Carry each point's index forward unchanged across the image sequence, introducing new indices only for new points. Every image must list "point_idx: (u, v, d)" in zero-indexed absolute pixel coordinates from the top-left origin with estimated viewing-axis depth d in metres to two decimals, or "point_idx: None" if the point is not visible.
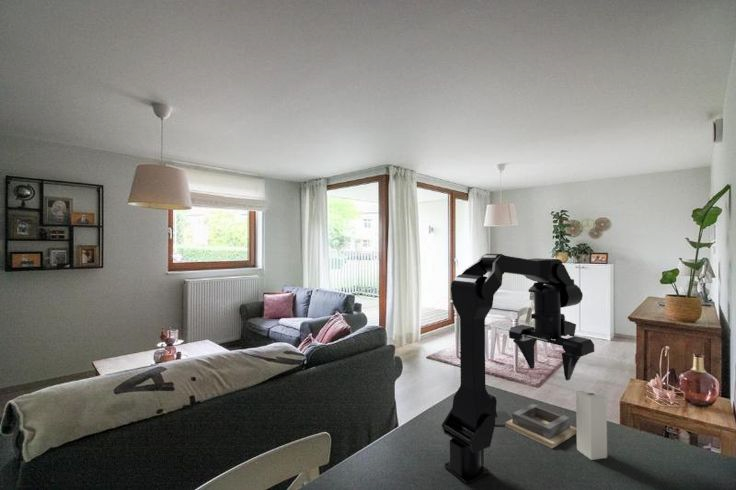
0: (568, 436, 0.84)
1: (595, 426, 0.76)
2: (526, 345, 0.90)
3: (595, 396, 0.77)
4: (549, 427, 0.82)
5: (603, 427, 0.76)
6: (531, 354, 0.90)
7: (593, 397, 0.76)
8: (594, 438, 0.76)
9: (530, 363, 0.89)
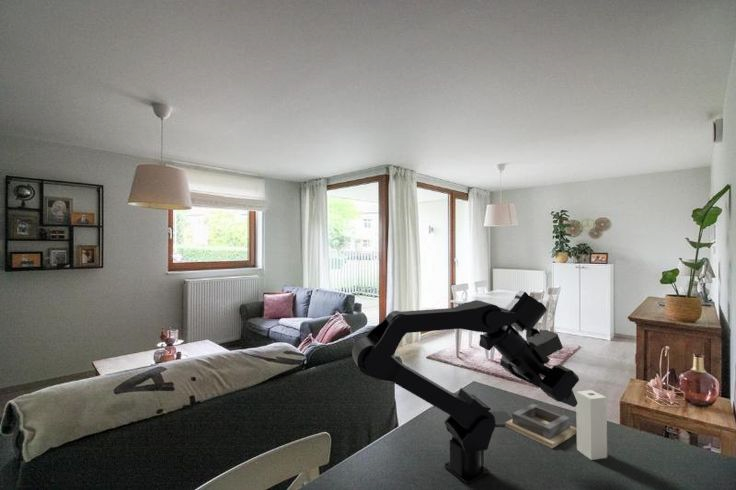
0: (568, 436, 0.84)
1: (595, 426, 0.76)
2: None
3: (595, 396, 0.77)
4: (549, 427, 0.82)
5: (603, 427, 0.76)
6: (535, 377, 0.81)
7: (592, 397, 0.76)
8: (594, 438, 0.76)
9: (539, 386, 0.80)
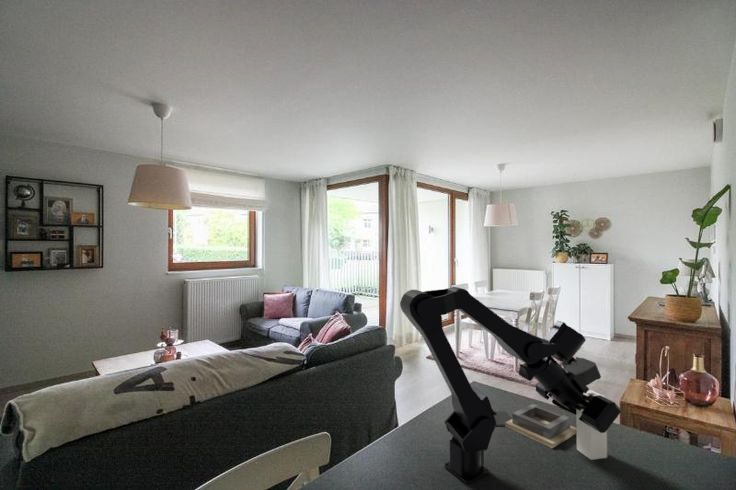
0: (568, 436, 0.84)
1: None
2: None
3: None
4: (549, 427, 0.82)
5: None
6: None
7: None
8: (594, 438, 0.76)
9: None
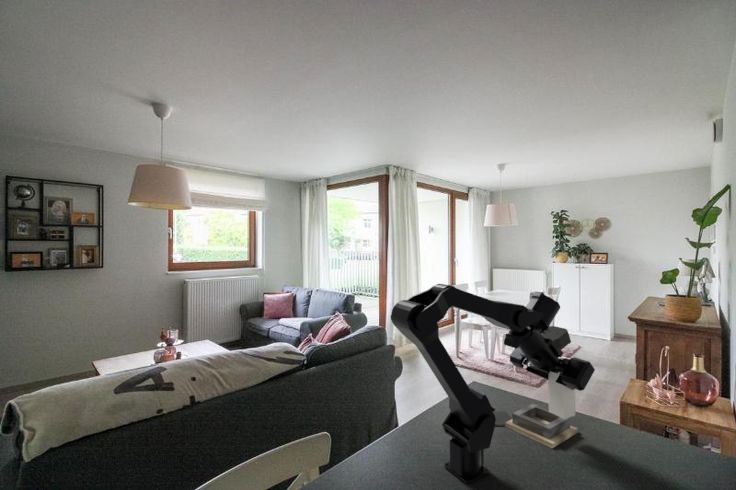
0: (568, 436, 0.84)
1: None
2: (540, 370, 0.85)
3: None
4: (549, 427, 0.82)
5: None
6: None
7: None
8: (566, 398, 0.82)
9: None
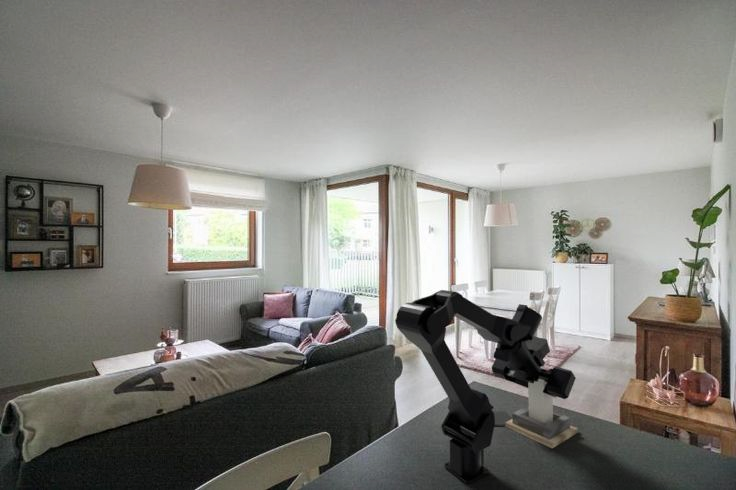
0: (568, 436, 0.84)
1: (546, 400, 0.86)
2: (518, 379, 0.89)
3: None
4: (549, 427, 0.82)
5: (550, 400, 0.87)
6: None
7: None
8: (546, 411, 0.86)
9: None
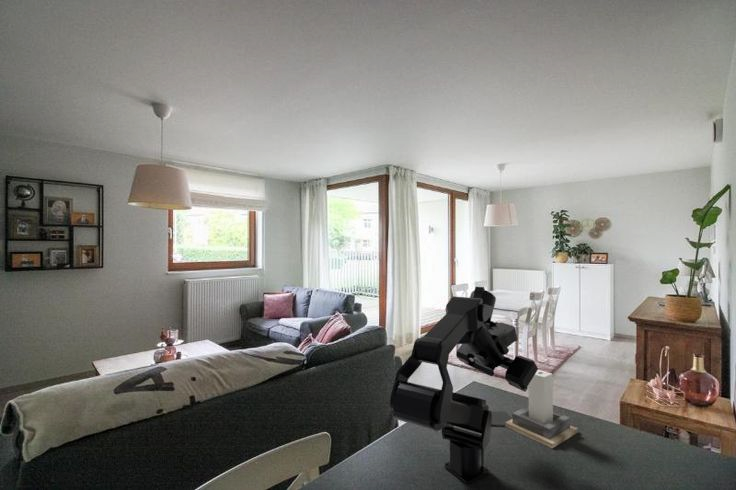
0: (568, 436, 0.84)
1: (546, 400, 0.86)
2: (477, 363, 0.85)
3: (544, 374, 0.87)
4: (549, 427, 0.82)
5: (551, 400, 0.87)
6: None
7: (544, 375, 0.86)
8: (546, 411, 0.86)
9: (489, 373, 0.87)
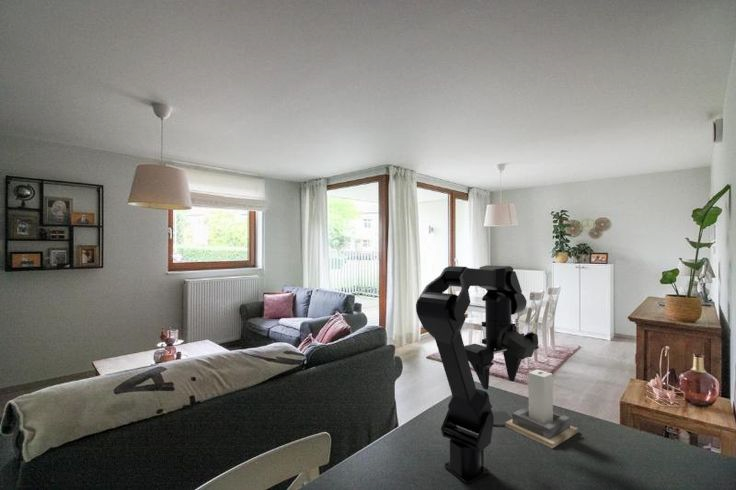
0: (568, 436, 0.84)
1: (546, 400, 0.86)
2: (507, 354, 0.87)
3: (544, 374, 0.87)
4: (549, 427, 0.82)
5: (551, 400, 0.87)
6: (511, 366, 0.86)
7: (544, 375, 0.86)
8: (546, 411, 0.86)
9: (508, 374, 0.86)
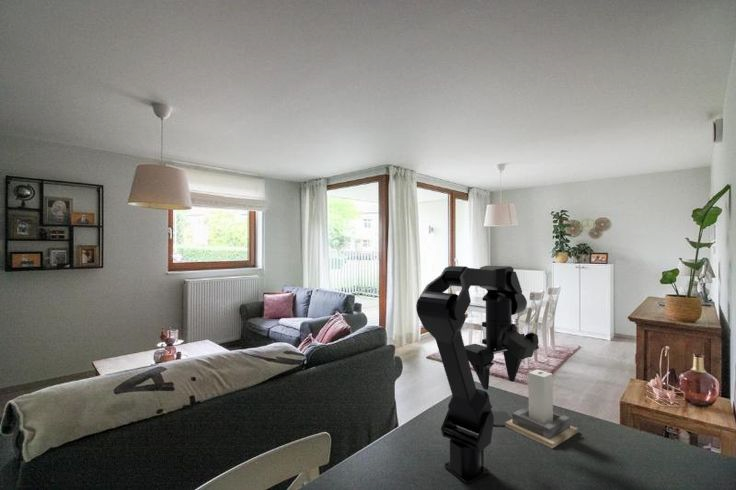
0: (568, 436, 0.84)
1: (546, 400, 0.86)
2: (507, 354, 0.87)
3: (544, 374, 0.87)
4: (549, 427, 0.82)
5: (551, 400, 0.87)
6: (511, 366, 0.86)
7: (544, 375, 0.86)
8: (546, 411, 0.86)
9: (508, 374, 0.86)
